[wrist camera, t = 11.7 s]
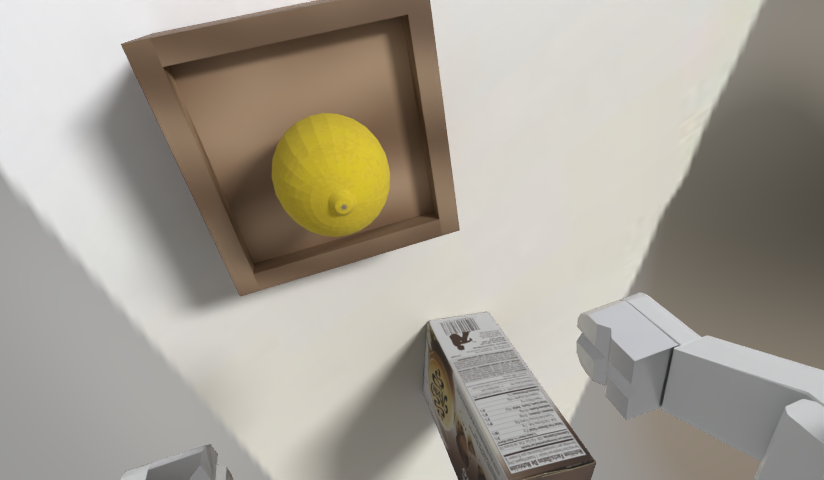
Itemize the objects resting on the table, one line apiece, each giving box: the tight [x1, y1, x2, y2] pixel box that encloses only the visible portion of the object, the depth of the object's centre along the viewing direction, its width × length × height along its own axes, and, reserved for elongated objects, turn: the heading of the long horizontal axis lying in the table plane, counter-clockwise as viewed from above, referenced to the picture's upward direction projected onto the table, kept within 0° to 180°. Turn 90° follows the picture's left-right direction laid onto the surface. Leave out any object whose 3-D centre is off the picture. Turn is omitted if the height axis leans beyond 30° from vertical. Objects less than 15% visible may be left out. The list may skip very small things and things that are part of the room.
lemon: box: [272, 113, 390, 237], centre depth 21 cm, size 6×6×8 cm
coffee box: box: [423, 312, 596, 480], centre depth 36 cm, size 9×6×16 cm
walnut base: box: [121, 0, 459, 296], centre depth 26 cm, size 14×14×6 cm
